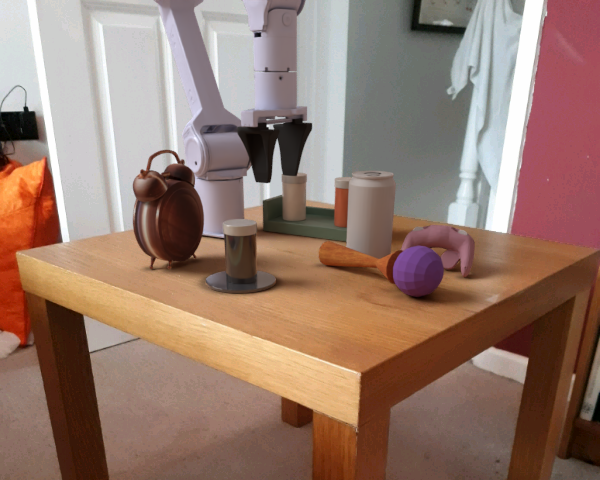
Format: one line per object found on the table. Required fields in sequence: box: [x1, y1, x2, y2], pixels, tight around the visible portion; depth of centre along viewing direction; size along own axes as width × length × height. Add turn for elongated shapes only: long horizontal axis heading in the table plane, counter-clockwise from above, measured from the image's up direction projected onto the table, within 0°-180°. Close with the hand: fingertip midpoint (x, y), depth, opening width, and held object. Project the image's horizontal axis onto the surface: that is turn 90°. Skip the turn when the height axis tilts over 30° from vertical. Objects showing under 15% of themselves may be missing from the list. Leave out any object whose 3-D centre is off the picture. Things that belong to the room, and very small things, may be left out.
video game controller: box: [400, 224, 476, 278], centre depth 86 cm, size 10×5×7 cm, turn 71°
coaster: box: [205, 270, 277, 294], centre depth 81 cm, size 9×9×1 cm
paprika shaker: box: [333, 176, 353, 228], centre depth 102 cm, size 4×4×7 cm
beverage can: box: [345, 170, 397, 259], centre depth 88 cm, size 6×6×12 cm
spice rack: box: [262, 194, 347, 243], centre depth 106 cm, size 18×9×5 cm, turn 61°
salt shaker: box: [281, 172, 308, 221], centre depth 106 cm, size 4×4×7 cm
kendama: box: [318, 240, 445, 298], centre depth 81 cm, size 6×6×20 cm
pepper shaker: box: [223, 218, 258, 284], centre depth 79 cm, size 4×4×7 cm
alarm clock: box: [132, 149, 204, 270], centre depth 85 cm, size 11×5×15 cm, turn 154°
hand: (276, 178), depth 91 cm, fingers open, 7 cm apart
